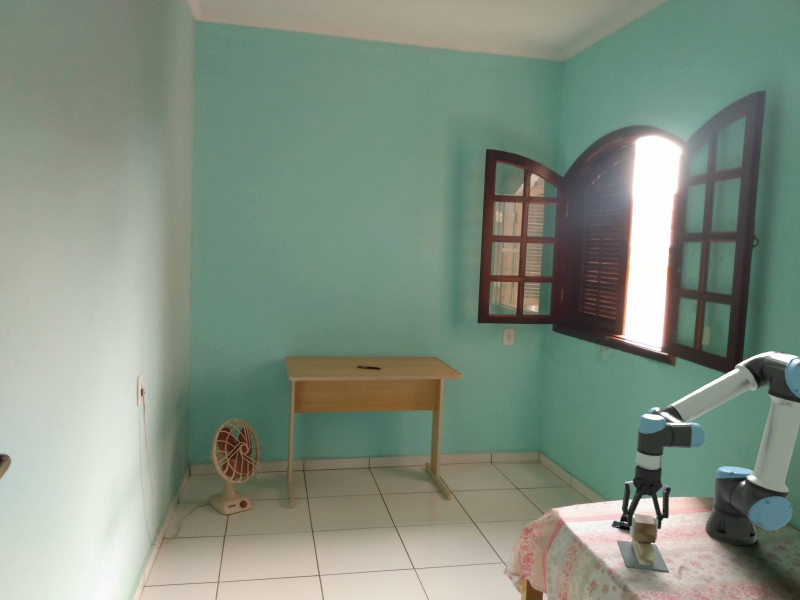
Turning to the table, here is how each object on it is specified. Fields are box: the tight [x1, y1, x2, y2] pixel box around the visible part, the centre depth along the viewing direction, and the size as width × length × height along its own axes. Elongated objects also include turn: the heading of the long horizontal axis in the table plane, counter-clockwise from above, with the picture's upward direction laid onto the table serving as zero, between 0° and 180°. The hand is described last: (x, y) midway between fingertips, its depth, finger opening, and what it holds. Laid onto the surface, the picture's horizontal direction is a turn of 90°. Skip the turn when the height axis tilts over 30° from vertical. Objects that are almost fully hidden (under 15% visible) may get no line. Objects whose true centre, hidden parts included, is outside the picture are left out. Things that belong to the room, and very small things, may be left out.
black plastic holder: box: [611, 513, 630, 532], centre depth 210 cm, size 12×7×5 cm, turn 62°
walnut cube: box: [634, 513, 657, 544], centre depth 190 cm, size 6×6×6 cm
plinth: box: [631, 537, 654, 566], centre depth 191 cm, size 4×12×5 cm, turn 170°
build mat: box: [617, 539, 670, 573], centre depth 191 cm, size 12×16×1 cm
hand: (642, 536), depth 191 cm, fingers closed on walnut cube, 6 cm apart
